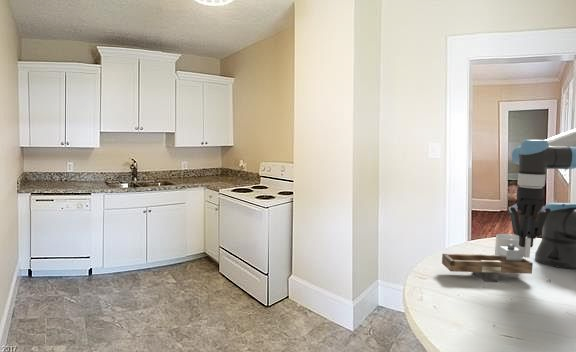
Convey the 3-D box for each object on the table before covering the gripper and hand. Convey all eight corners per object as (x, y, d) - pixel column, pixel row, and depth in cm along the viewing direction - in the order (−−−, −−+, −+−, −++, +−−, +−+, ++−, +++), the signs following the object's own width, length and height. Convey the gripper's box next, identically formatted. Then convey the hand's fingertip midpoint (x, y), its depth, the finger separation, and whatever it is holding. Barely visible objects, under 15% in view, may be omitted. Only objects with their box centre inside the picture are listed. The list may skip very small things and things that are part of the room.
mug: (517, 272, 131) (520, 241, 130) (490, 265, 137) (492, 236, 136) (527, 264, 139) (529, 235, 138) (501, 259, 146) (503, 231, 144)
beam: (516, 273, 130) (517, 254, 129) (532, 283, 121) (533, 263, 120) (441, 271, 131) (441, 252, 130) (450, 280, 122) (451, 261, 122)
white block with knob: (513, 261, 127) (515, 243, 127) (521, 265, 123) (522, 247, 122) (498, 260, 127) (500, 243, 127) (505, 264, 123) (507, 246, 122)
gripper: (543, 185, 126) (537, 253, 128) (504, 184, 126) (499, 252, 129) (558, 188, 118) (552, 260, 121) (516, 187, 119) (511, 259, 121)
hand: (524, 256), depth 125 cm, fingers closed
